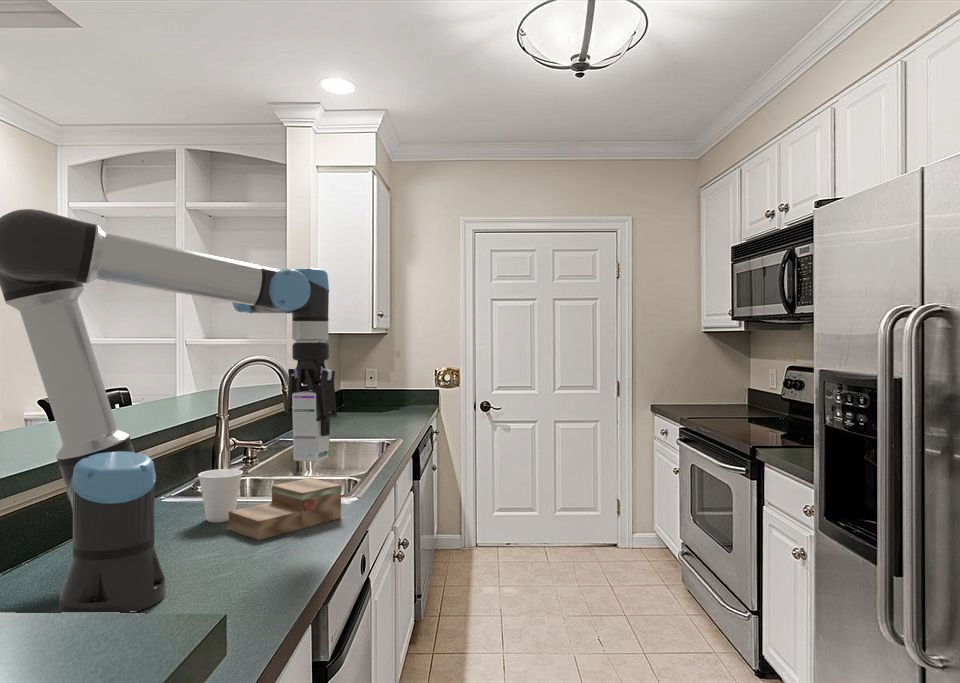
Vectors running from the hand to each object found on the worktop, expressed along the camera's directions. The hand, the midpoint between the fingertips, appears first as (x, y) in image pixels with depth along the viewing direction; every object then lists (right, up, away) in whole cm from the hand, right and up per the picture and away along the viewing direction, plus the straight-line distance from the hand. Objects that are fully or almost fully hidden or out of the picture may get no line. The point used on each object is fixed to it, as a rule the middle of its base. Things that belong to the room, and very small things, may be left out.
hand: (311, 448), depth 139 cm
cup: (-26, -19, +15) cm, 36 cm away
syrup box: (0, -2, 0) cm, 2 cm away
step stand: (-9, -19, +12) cm, 24 cm away
